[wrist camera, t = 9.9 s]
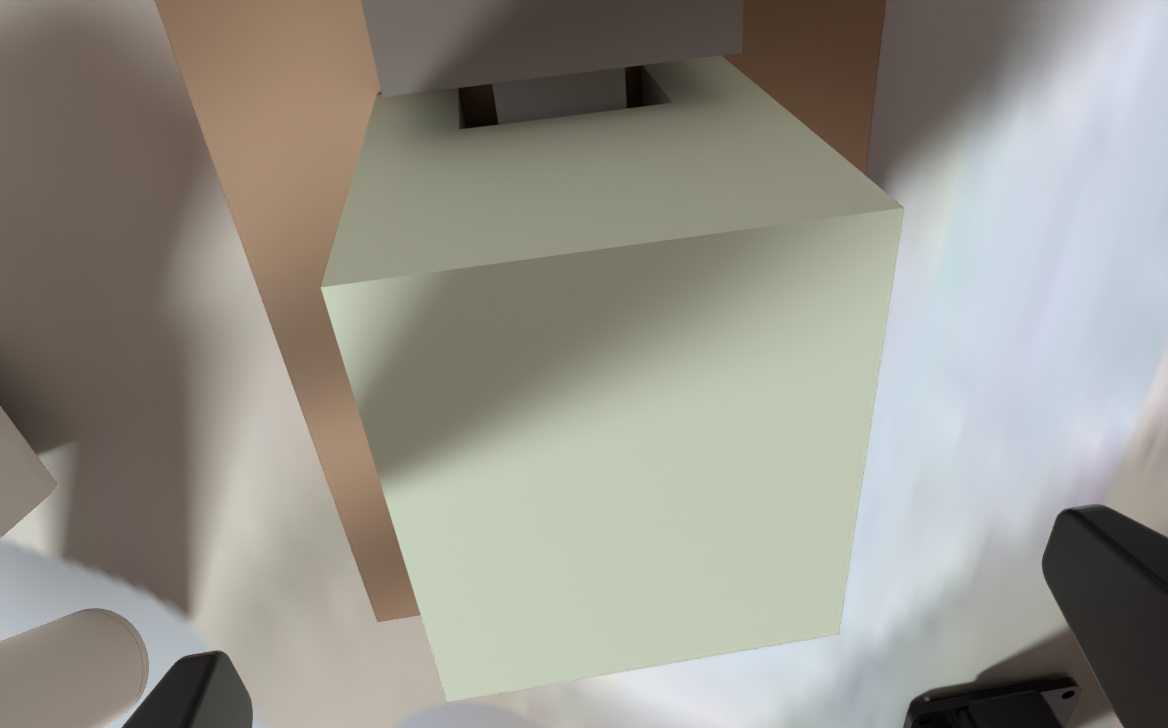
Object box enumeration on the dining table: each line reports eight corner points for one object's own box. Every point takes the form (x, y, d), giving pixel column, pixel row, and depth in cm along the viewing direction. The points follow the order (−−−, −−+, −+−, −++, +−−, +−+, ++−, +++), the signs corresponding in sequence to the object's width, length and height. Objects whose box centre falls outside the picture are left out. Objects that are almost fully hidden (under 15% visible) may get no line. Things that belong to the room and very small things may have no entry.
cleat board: (800, 510, 23) (867, 640, 19) (381, 577, 22) (367, 727, 18) (863, -150, 14) (1011, -143, 10) (161, -74, 13) (47, -37, 9)
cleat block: (714, 376, 18) (838, 634, 12) (449, 416, 18) (446, 701, 12) (718, 53, 14) (903, 207, 8) (376, 95, 14) (320, 288, 8)
